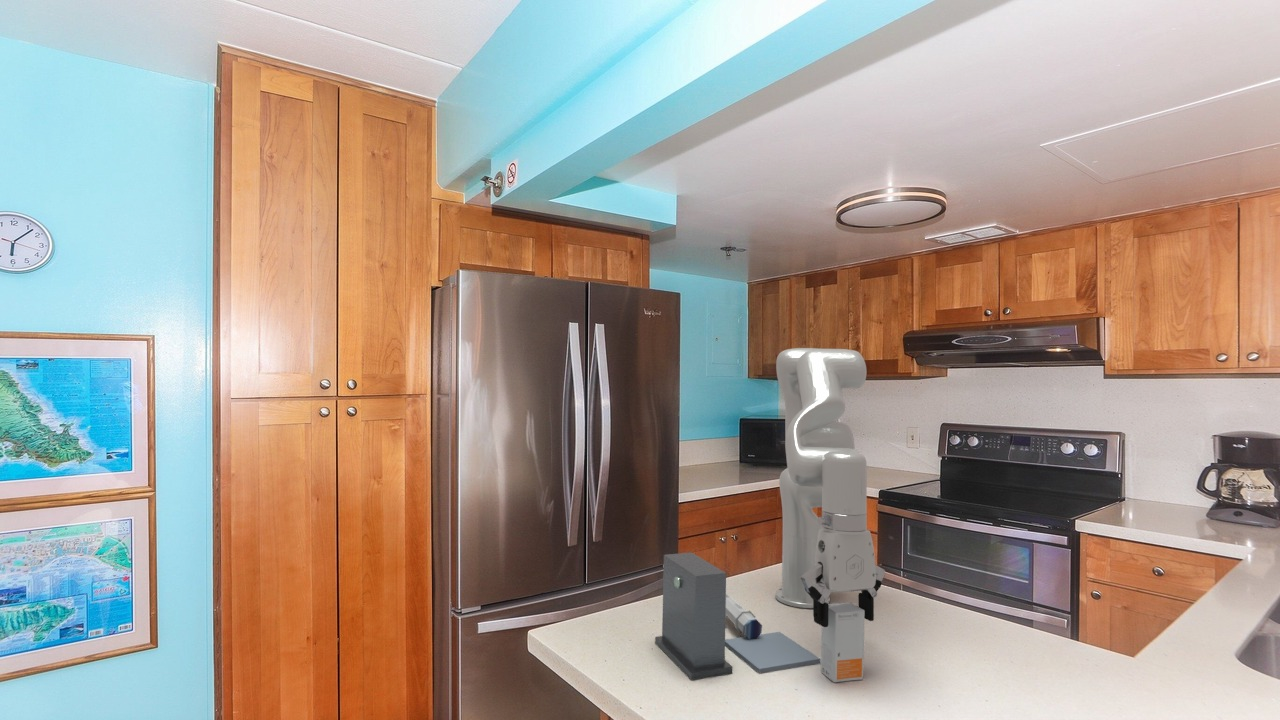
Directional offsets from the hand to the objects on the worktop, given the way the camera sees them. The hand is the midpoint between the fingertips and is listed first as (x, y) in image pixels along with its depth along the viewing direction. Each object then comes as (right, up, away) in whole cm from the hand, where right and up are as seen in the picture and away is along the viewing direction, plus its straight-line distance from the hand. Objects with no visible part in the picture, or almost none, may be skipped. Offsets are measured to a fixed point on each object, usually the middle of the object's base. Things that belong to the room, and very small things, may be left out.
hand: (843, 621), depth 107 cm
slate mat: (-11, -10, +9) cm, 17 cm away
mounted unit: (-26, -9, +6) cm, 28 cm away
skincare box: (0, -10, 0) cm, 10 cm away
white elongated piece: (-17, -10, +25) cm, 32 cm away
